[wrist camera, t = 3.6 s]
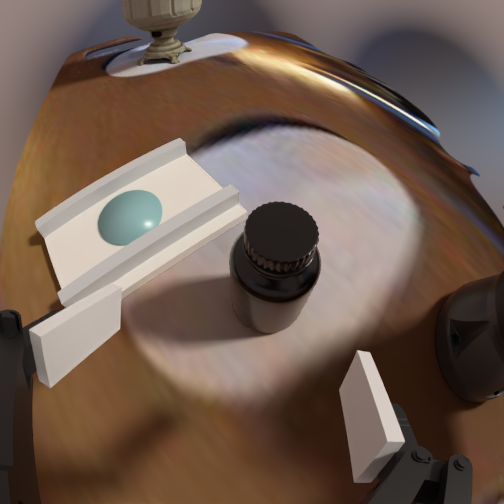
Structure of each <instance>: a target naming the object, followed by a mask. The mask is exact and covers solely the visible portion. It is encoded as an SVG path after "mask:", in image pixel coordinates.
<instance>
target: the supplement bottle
mask: <svg viewBox="0 0 504 504" xmlns="http://www.w3.org/2000/svg"><path fill="white" fill-rule="evenodd" d="M318 236H319V232H318V227H317V225H316V222H315V221H314V220H313V218H312V216H311V215H309V213H308V212H307V211H304V210H303V208H300V207H298V206H297V205H293V204H291V203H285V202H269V203H268V204H263V205H262V206H260V207H257V208H256V210H254V211H252V214H250V215H249V216H248V219H247V220H246V222H245V227H244V231H243V232H242V233H241V234H240V235H239V236H238V238H237V239H236V240H235V242H234V244H233V246H232V249H231V252H230V260H229V265H230V283H231V298H232V306H233V309H234V312H235V314H236V316H237V317H238V319H239V320H240V321H241V322H242V323H243V324H244V325H245V326H246V327H248V328H250V329H252V330H254V331H257V332H261V333H275V332H279V331H282V330H284V329H286V328H287V327H289V326H290V325H291V324H292V323H293V322H294V321H295V320H296V319H297V317H298V316H299V314H300V312H301V310H302V309H303V307H304V305H305V303H306V301H307V300H308V298H309V296H310V294H311V292H312V290H313V288H314V287H315V285H316V283H317V280H318V278H319V275H320V271H321V258H320V253H319V250H318V248H317V244H318V241H319V238H318Z"/></svg>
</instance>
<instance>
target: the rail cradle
mask: <svg viewBox="0 0 504 504" xmlns="http://www.w3.org/2000/svg"><path fill="white" fill-rule="evenodd" d="M245 219H247V211H246V210H245V209H244V208H243V207H242V206H241V205H240V204H239V191H238V190H237V189H236V188H235V187H234V186H233V185H232V184H230V185H228V186H226V187H225V188H222V187H221V186H220V185H219V184H218V183H217V182H216V181H215V180H214V179H213V178H212V177H210V176H209V175H208V174H207V173H206V172H205V171H204V170H203V169H202V168H201V167H200V166H199V165H198V164H197V163H196V162H194V161H193V160H192V159H191V158H190V157H189V156H188V155H187V153H186V146H185V142H184V141H183V140H182V139H180V138H178V139H176V140H174V141H172V142H169V143H167V144H165V145H163V146H161V147H159V148H157V149H155V150H153V151H151V152H149V153H147V154H145V155H143V156H141V157H139V158H137V159H135V160H133V161H131V162H129V163H128V164H126V165H124V166H122V167H120V168H118V169H117V170H115V171H113V172H111V173H109V174H108V175H106V176H104V177H103V178H101V179H99V180H97V181H96V182H94V183H92V184H91V185H89V186H87V187H86V188H84V189H82V190H81V191H79V192H78V193H76V194H75V195H73V196H71V197H70V198H68V199H67V200H65V201H64V202H62V203H61V204H59V205H58V206H56V207H55V208H53V209H52V210H50V211H49V212H47V213H46V214H45V215H43V216H42V217H40V218H39V219H38V220H36V221H35V224H36V228H37V230H38V231H39V232H40V234H41V235H42V236H43V238H44V239H45V243H46V246H47V249H48V252H49V255H50V258H51V261H52V264H53V267H54V270H55V273H56V276H57V278H58V281H59V284H60V286H61V290H60V291H59V292H57V294H58V296H59V299H60V301H61V304H62V305H63V306H64V307H66V308H67V307H69V306H71V305H72V304H74V303H76V302H78V301H79V300H81V299H83V298H85V297H87V296H88V295H90V294H92V293H94V292H96V291H98V290H99V289H101V288H103V287H105V286H107V285H109V284H110V283H112V284H115V285H118V286H121V287H122V295H121V300H122V299H123V298H125V297H126V296H127V295H129V294H130V293H132V292H133V291H135V290H136V289H138V288H139V287H141V286H142V285H144V284H145V283H147V282H148V281H150V280H151V279H153V278H154V277H156V276H157V275H159V274H161V273H162V272H164V271H165V270H167V269H168V268H170V267H171V266H173V265H174V264H176V263H177V262H179V261H180V260H182V259H184V258H185V257H187V256H188V255H190V254H191V253H193V252H194V251H196V250H197V249H199V248H201V247H202V246H204V245H205V244H207V243H208V242H210V241H212V240H213V239H215V238H216V237H218V236H220V235H221V234H223V233H224V232H226V231H227V230H229V229H231V228H232V227H234V226H235V225H237V224H239V223H240V222H242V221H244V220H245Z"/></svg>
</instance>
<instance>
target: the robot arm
mask: <svg viewBox="0 0 504 504" xmlns="http://www.w3.org/2000/svg"><path fill="white" fill-rule="evenodd" d="M121 295H122V287H121V286H118V285H115V284H112V283H110V284H109V285H107V286H105V287H103V288H101V289H99V290H98V291H96V292H94V293H92V294H90V295H88V296H87V297H85V298H83V299H81V300H79V301H78V302H76V303H74V304H72V305H71V306H69V307H67V308H65V309H64V310H61V309H60V310H56V311H52V312H50V313H48V314H46V315H45V316H43V317H41V318H39V320H36V321H34V322H32V323H31V324H29V325H27V326H25V327H24V328H22V321H21V315H20V314H19V312H17V311H15V310H3V311H0V504H41V500H40V495H39V489H38V483H37V476H36V468H35V458H34V446H33V427H32V394H33V377H32V374H33V373H34V372H35V371H37V374H38V379H39V381H40V382H42V383H43V384H45V385H46V386H48V387H49V388H51V387H52V386H54V385H55V384H56V383H57V382H58V381H59V380H61V379H62V378H63V377H64V376H65V375H66V374H67V373H69V372H70V371H71V370H72V369H73V368H74V367H76V366H77V365H78V364H79V363H80V362H81V361H83V360H84V359H85V358H86V357H87V356H89V355H90V354H91V353H92V352H93V351H94V350H96V349H97V348H98V347H99V346H100V345H102V344H103V343H104V342H105V341H106V340H108V339H109V338H110V337H111V336H112V335H114V334H115V333H116V332H117V331H118V330H120V317H121ZM436 350H437V356H438V360H439V364H440V367H441V370H442V373H443V375H444V377H445V379H446V381H447V383H448V384H449V386H450V387H451V389H452V390H453V391H454V392H455V393H456V394H457V395H458V396H459V397H461V398H462V399H464V400H466V401H469V402H483V401H487V400H491V399H494V398H496V397H498V396H500V395H501V394H503V393H504V271H503V272H502V273H501V274H498V275H494V276H491V277H487V278H483V279H480V280H476V281H472V282H469V283H467V284H465V285H463V286H461V287H460V288H459V289H457V290H456V291H455V292H453V293H452V294H451V295H450V296H449V297H448V298H447V299H446V301H445V302H444V304H443V306H442V308H441V310H440V313H439V316H438V320H437V326H436ZM339 392H340V398H341V403H342V409H343V414H344V420H345V426H346V432H347V438H348V445H349V451H350V458H351V465H352V472H353V479H354V483H371V482H372V481H373V479H374V478H375V477H376V476H377V475H378V479H379V483H378V484H377V485H376V486H375V487H374V488H373V489H372V490H371V491H370V492H369V493H368V494H367V497H366V498H365V499H364V500H363V501H362V502H361V504H411V503H412V504H471V497H472V464H471V462H470V460H469V459H468V458H467V457H465V456H463V455H459V454H456V455H453V456H451V457H450V458H449V459H448V461H447V462H445V461H440V460H436V459H433V456H432V454H431V453H430V451H429V450H427V449H426V448H424V447H421V446H418V443H417V441H416V438H415V436H414V433H413V431H412V428H411V426H410V423H409V421H408V420H407V416H406V414H405V411H404V410H403V409H402V408H401V407H400V405H399V404H396V403H391V402H390V400H389V397H388V395H387V392H386V390H385V387H384V385H383V382H382V380H381V377H380V375H379V373H378V370H377V368H376V365H375V363H374V361H373V358H372V356H371V354H370V352H364V351H359V350H357V352H356V354H355V357H354V359H353V361H352V363H351V366H350V368H349V370H348V372H347V374H346V376H345V379H344V381H343V383H342V385H341V387H340V389H339Z"/></svg>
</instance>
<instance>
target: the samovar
mask: <svg viewBox="0 0 504 504" xmlns="http://www.w3.org/2000/svg"><path fill="white" fill-rule="evenodd" d="M201 4H202V0H122V7H123V15H124V18H125V20H126V21H127V22H128V23H129V25H131V26H134V27H137V28H139V29H141V30H145V31H150V37H151V38H154V39H155V42H154V43H152V44H150V46H149V47H147V49H146V50H145V54H144V57H143V59H141V60H140V61H139V63H138V65H143V63H144V62H146V60H147V59H156V58H159V59H160V58H167V59H170V60H171V64H177V63H179V62H180V61H179V60H178V59H177V57H178V54H179V53H182V52H183V51H185V49H186V50H190V51H192V49H190V48H188V47H186V46H185V45H184V44H183V43H182V42H180V41H178V40H177V39H173V35H175V34H177V26H179V25H182V24H184V23H185V22H187V21H188V20H190V19H191V18H192V17H193V16H195V15H196V14H197V13H198V11H199V9H200V8H201Z"/></svg>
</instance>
